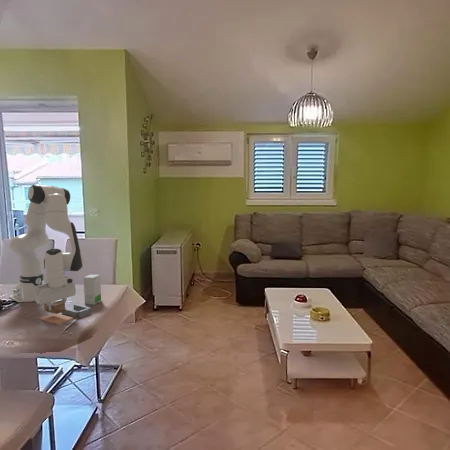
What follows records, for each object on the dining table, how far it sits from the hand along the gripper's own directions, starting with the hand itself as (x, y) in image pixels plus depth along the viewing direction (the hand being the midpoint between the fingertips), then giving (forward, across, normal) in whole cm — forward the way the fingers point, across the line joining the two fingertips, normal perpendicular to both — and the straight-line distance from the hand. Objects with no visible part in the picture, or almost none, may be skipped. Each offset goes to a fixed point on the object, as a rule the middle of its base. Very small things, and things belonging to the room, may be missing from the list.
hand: (57, 308), depth 210 cm
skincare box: (+6, +28, +8) cm, 29 cm away
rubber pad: (+6, 0, 0) cm, 6 cm away
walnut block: (+2, 0, +2) cm, 3 cm away
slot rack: (+6, +11, 0) cm, 12 cm away
